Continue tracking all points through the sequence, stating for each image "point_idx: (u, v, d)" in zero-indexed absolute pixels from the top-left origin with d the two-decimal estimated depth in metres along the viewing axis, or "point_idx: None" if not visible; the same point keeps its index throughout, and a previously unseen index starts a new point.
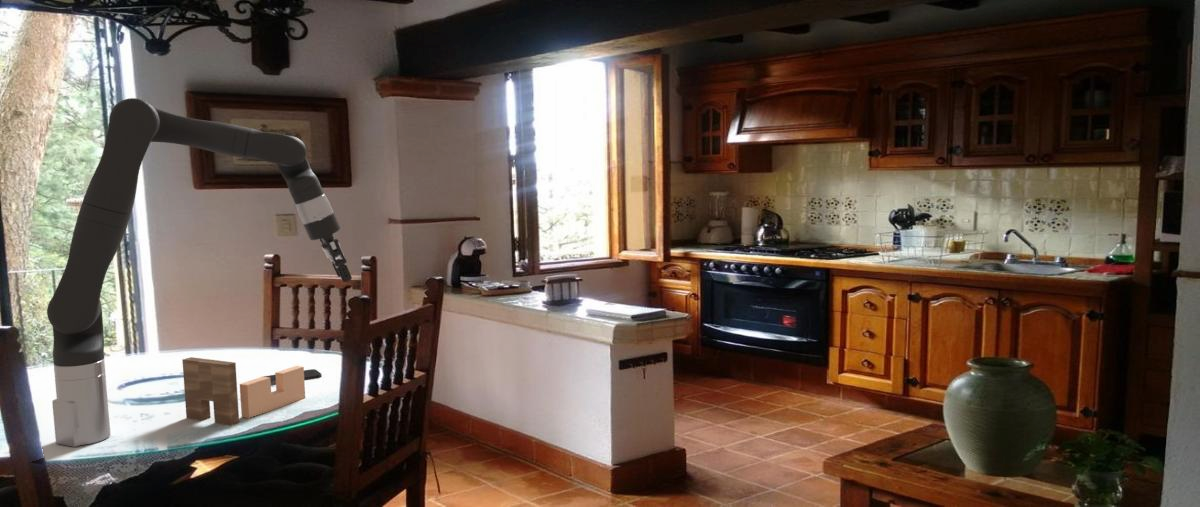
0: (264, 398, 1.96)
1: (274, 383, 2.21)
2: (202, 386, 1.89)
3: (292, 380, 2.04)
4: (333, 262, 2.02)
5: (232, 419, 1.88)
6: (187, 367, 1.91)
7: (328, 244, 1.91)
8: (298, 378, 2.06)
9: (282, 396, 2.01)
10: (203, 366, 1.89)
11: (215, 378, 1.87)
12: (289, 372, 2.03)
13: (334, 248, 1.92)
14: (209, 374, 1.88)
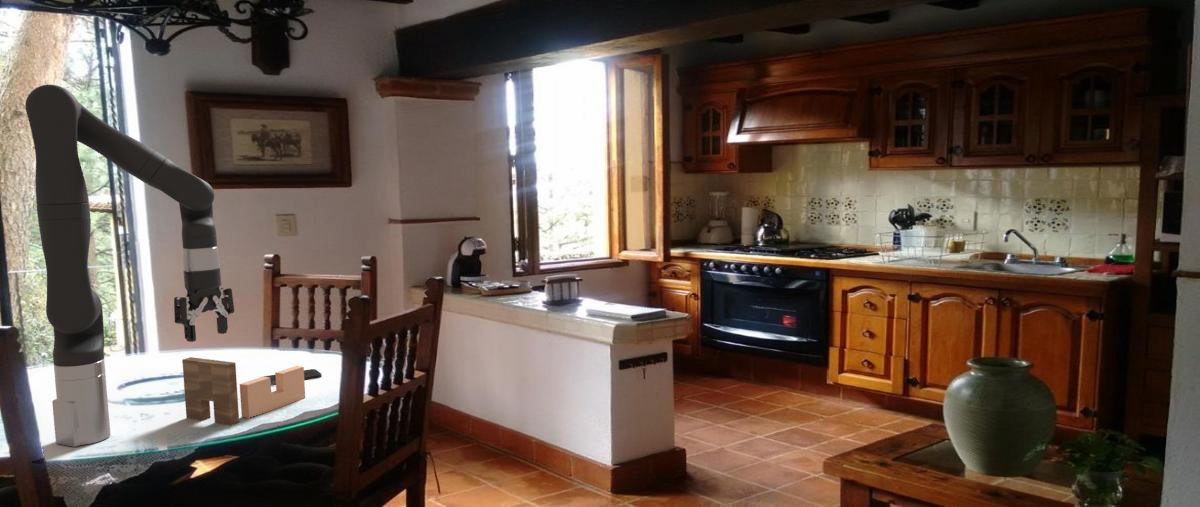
0: (264, 398, 1.96)
1: (274, 383, 2.21)
2: (202, 386, 1.89)
3: (292, 380, 2.04)
4: (218, 316, 1.92)
5: (232, 419, 1.88)
6: (186, 367, 1.91)
7: (175, 298, 1.82)
8: (298, 378, 2.06)
9: (282, 396, 2.01)
10: (203, 366, 1.88)
11: (215, 378, 1.87)
12: (289, 372, 2.03)
13: (178, 305, 1.81)
14: (209, 374, 1.88)
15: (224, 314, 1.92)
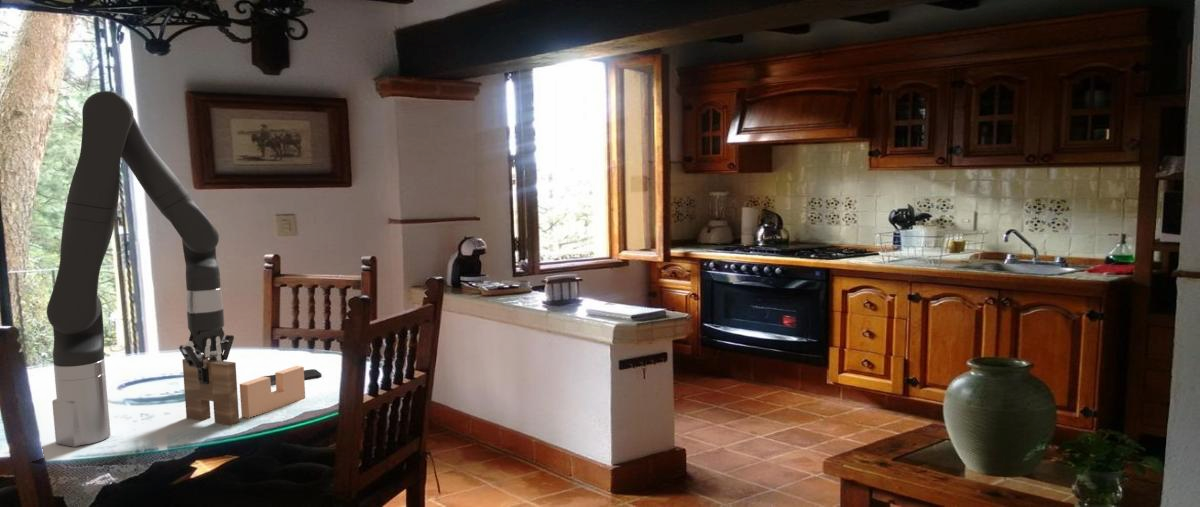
0: (264, 398, 1.96)
1: (274, 383, 2.21)
2: (202, 386, 1.89)
3: (292, 380, 2.04)
4: None
5: (232, 419, 1.88)
6: (187, 367, 1.91)
7: (180, 348, 1.83)
8: (298, 378, 2.06)
9: (282, 396, 2.01)
10: None
11: (215, 378, 1.87)
12: (289, 372, 2.03)
13: (185, 353, 1.84)
14: (209, 374, 1.88)
15: None
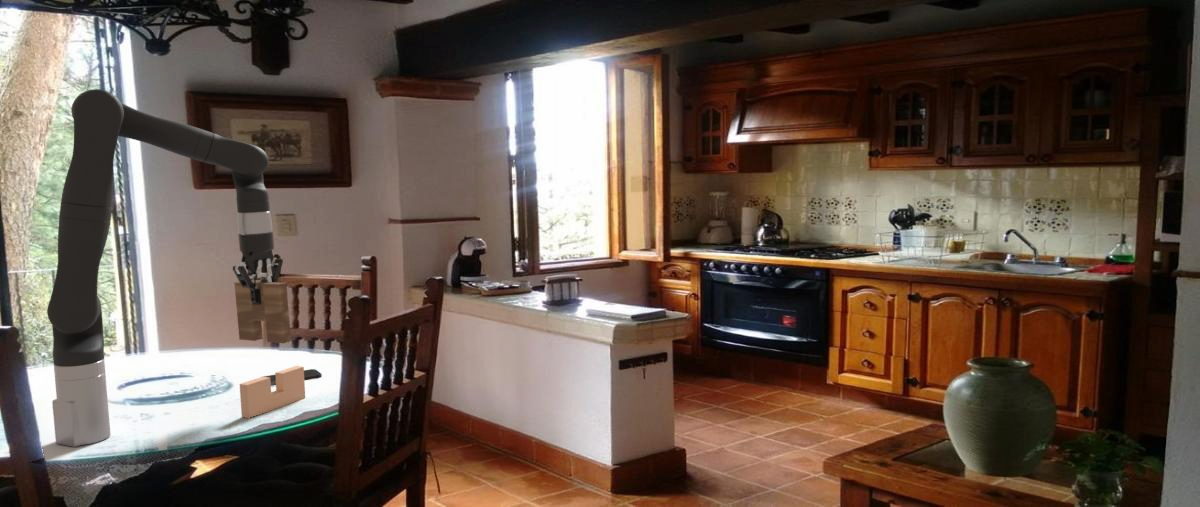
0: (264, 398, 1.96)
1: (274, 383, 2.21)
2: (254, 307, 1.96)
3: (292, 380, 2.04)
4: None
5: (285, 337, 1.94)
6: (239, 289, 1.97)
7: (233, 268, 1.89)
8: (298, 378, 2.06)
9: (282, 396, 2.01)
10: None
11: (267, 298, 1.94)
12: (289, 372, 2.03)
13: (239, 273, 1.90)
14: (261, 295, 1.94)
15: None
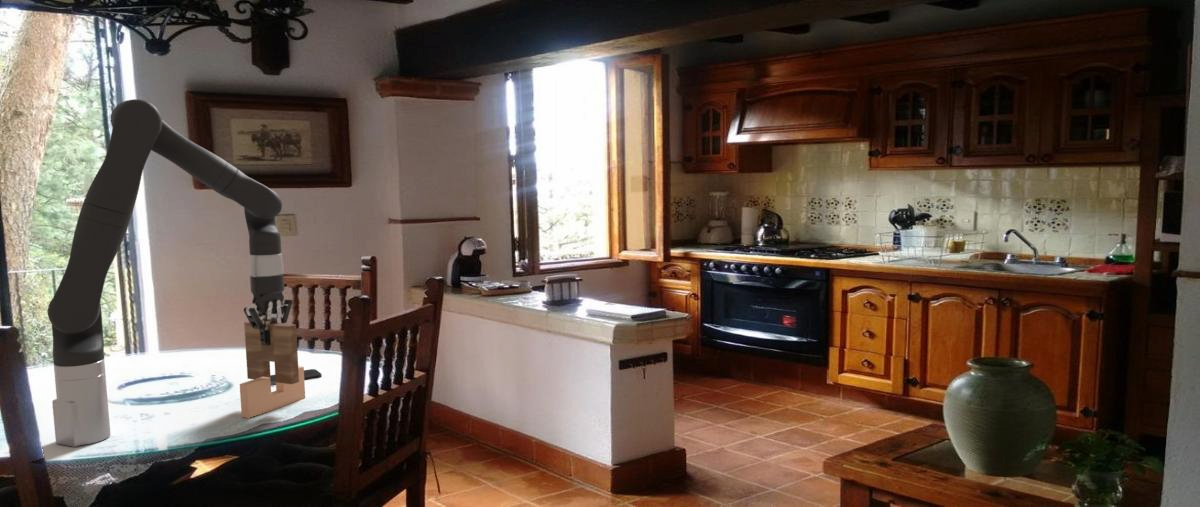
0: (264, 398, 1.96)
1: (274, 383, 2.21)
2: (263, 348, 1.98)
3: None
4: None
5: (293, 378, 1.96)
6: (248, 330, 1.99)
7: (244, 310, 1.92)
8: None
9: (282, 396, 2.01)
10: None
11: (277, 339, 1.96)
12: None
13: (249, 315, 1.92)
14: (271, 336, 1.97)
15: None
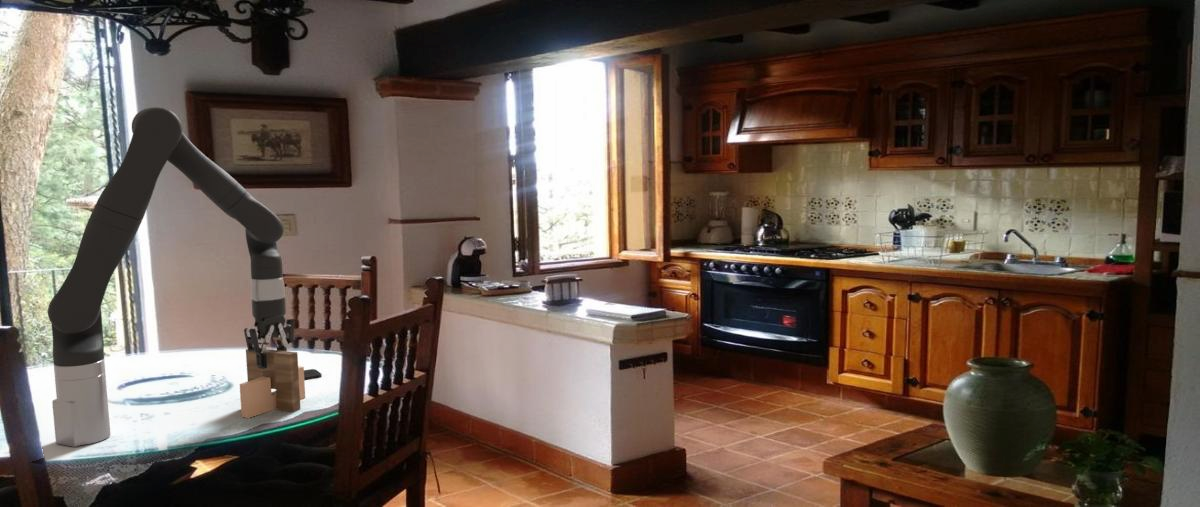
0: (264, 398, 1.96)
1: None
2: (265, 375, 1.99)
3: None
4: (278, 346, 2.02)
5: (294, 406, 1.97)
6: (250, 357, 2.00)
7: (245, 330, 1.92)
8: None
9: None
10: (266, 356, 1.98)
11: (278, 367, 1.97)
12: None
13: (249, 336, 1.92)
14: (272, 363, 1.97)
15: (284, 344, 2.01)
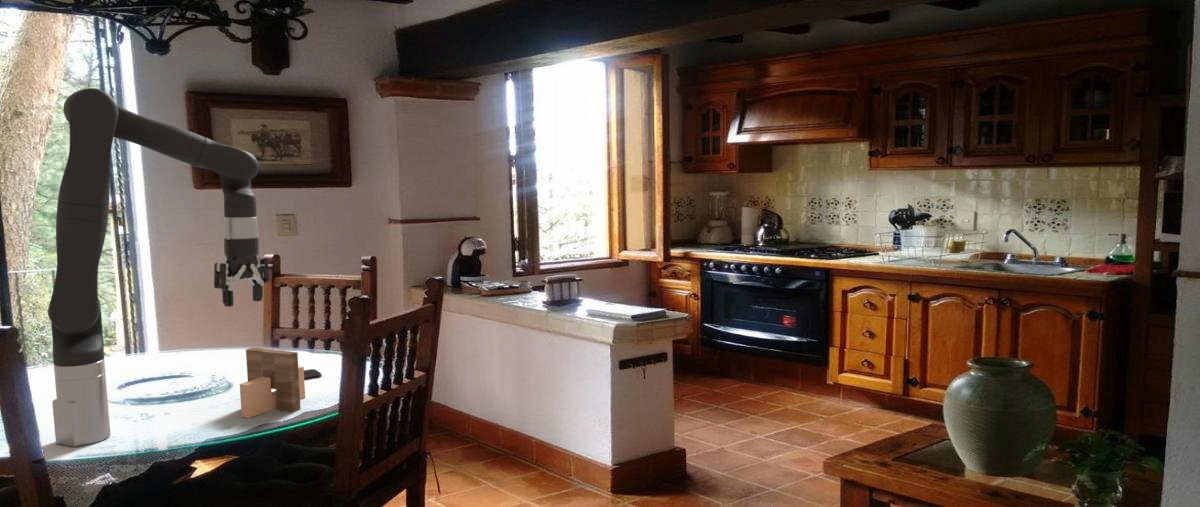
0: (264, 398, 1.96)
1: None
2: (265, 375, 1.99)
3: None
4: (254, 284, 2.00)
5: (294, 406, 1.97)
6: (250, 357, 2.00)
7: (215, 264, 1.90)
8: None
9: None
10: (266, 356, 1.98)
11: (278, 367, 1.97)
12: None
13: (218, 270, 1.89)
14: (272, 363, 1.97)
15: (260, 282, 1.99)
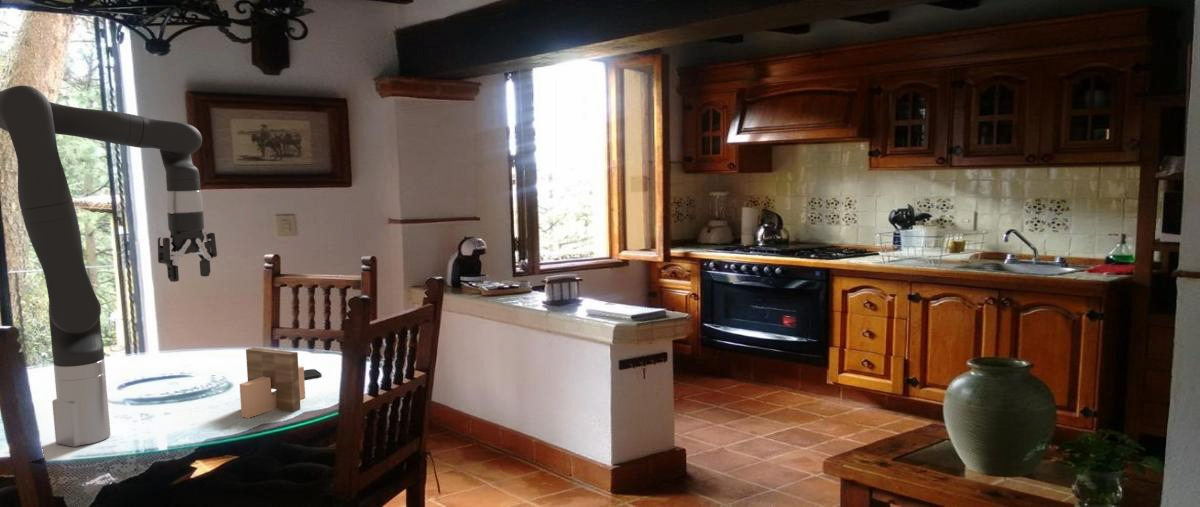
0: (264, 398, 1.96)
1: None
2: (265, 375, 1.99)
3: None
4: (201, 259, 1.98)
5: (294, 406, 1.97)
6: (250, 357, 2.00)
7: (159, 238, 1.87)
8: None
9: None
10: (266, 356, 1.98)
11: (278, 367, 1.97)
12: None
13: (161, 245, 1.87)
14: (272, 363, 1.97)
15: (207, 257, 1.97)
